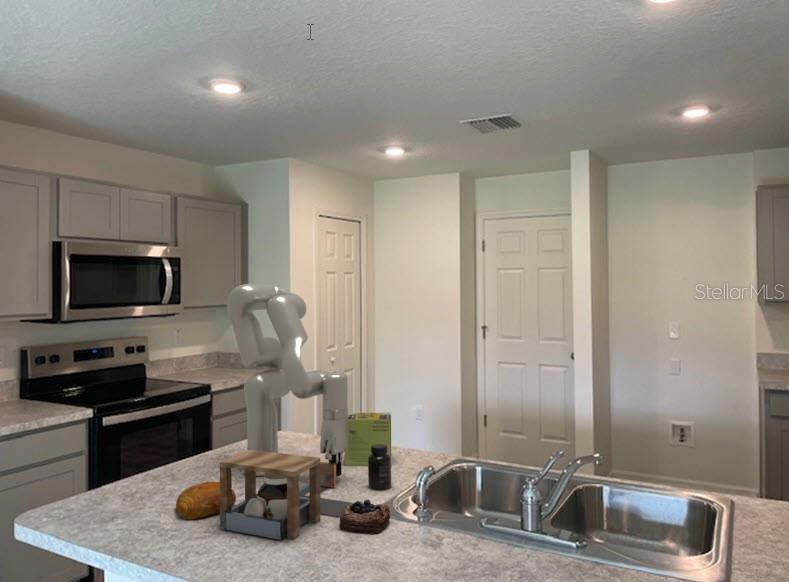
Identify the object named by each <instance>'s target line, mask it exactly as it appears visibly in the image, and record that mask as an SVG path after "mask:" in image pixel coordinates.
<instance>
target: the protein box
mask: <svg viewBox="0 0 789 582" xmlns="http://www.w3.org/2000/svg"><path fill="white" fill-rule="evenodd" d="M347 423H348V447H347V448H346V449H345V451H344V453H343V454H344V456H343V457H344V462H343V464H344V466H345V467H346V466H350V467H352V466H353V467H354V466H356V467H360V466H361V467H362V466H363V467H365V466H366V467H368V457H369V456H370V455H371V454H372V453H371V446H372V445H375V444H384V445H387V450H388V452H387V454H388V455H390V457H391V458H392V413H391V412H348V419H347Z"/></svg>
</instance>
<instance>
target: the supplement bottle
mask: <svg viewBox="0 0 789 582" xmlns="http://www.w3.org/2000/svg"><path fill="white" fill-rule="evenodd" d="M387 452H388V450H387V445H384V444H375V445H372V446H371V453H372V454H371V455H370V456H369V457H368V466H367V477H368V478H367V481H368V485H367V486H368V488H370V489H371V490H373V491H374V490H375V491H383V490H388V489H390V488H391V487H392V456H391V457H390V455H388V454H387Z"/></svg>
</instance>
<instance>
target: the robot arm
mask: <svg viewBox="0 0 789 582" xmlns="http://www.w3.org/2000/svg"><path fill="white" fill-rule="evenodd" d="M226 310H227V316H228V317H229V320H230V324H231V327H232V329H233V333H234V336H235V337H234V338H235V340H236V344H237V348H238V353H239V356H240V357H239V358H240V360H241V363H242V365H243V366H244V368H247V369H250V370H253V369H260V368H261V369H262V368H263V369H264V370H262V371H258V372H255V373H252V374H251V375H249V376H248V377H246V380H245V382H244V385H243V393H244V394H243V395H244V400H245V403H246V423H247V424H246V427H247V428H246V430H247V431H246V433H247V437H246V439H247V441H246V442H247V443H246V445H247V447H246V449H247V450H257V451H265V452H273V453H279V449H278V448H279V447H278V444H279V443H278V441H279V440H278V439H279V437H278V434H279V433H278V428H279V426H278V423H279V421H278V417H279V416H278V410H277V407H276V404H275V402H274V400H275V399H279V398H282V397H284V396H287V395H288V394H289V393H290V392H291V393H292V395H294V396H295V397H296V398H299V399H301V400H304V399H309V398H312V397H316V396H319V395H322V424H321V428H320V429H321V430H320V443H319V445H320V446H319V451H320V454H322V455H323V454H325V455H324V456H325V458H324V459H325V460H326V461H328V463H335V464H336V477H340V476H342V461H343V454H344V451H345V449H346V448H347V447H348V423H347V419H348V413H349V412H348V411H349V410H348V409H349V408H348V407H349V405H348V403H349V401H348V400H349V397H348V396H349V395H348V394H349V393H348V392H349V391H348V390H349V389H348V388H349V387H348V385H349V383H348V382H349V379H348V375H347V374H345V373H344V372H330V371H325V370H323V369H321V370H320V369H318V370H317V369H316V370H312V371H307V372H306V370H305V368H304V366H303V363H302V359H301V351H302V348H303V346H304V344H306V342H307V341H308V337H309V336H308V334H307V332H306V329H305V327H304V325H303V323H302V320H301V319H303V318H304V317H305V316H306V312H307V305H306V302H305V300H304V299H303V298H302V297H301V296H300V295H298V294H296V293H293V292H290V291H288V290H286V289H283V288H281V287H279V286H276V285H274V284H270V283H246V284H245V283H244V284H241V285H237V286H236V287H234V289H232V290H231V292H230V293H229V295H228V297H227V301H226ZM262 310H266V313H267V317H268V318H269V321H270V322H271V325H272V328H273V329H274V331H275V333H276V336H277V338H278V339H277V338H274V337H268V336H267V337H264V335H263V331H262V327H261V326H262V325H261V324H260V322H259V320H258V318H257V317H256V315H254V313H253V311H262ZM247 450H246V451H247ZM241 471H242V473H243V474H244V475H245V470H241ZM265 474H267V473H261V472H256V477H264V475H265Z"/></svg>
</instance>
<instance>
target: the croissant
mask: <svg viewBox="0 0 789 582" xmlns="http://www.w3.org/2000/svg"><path fill="white" fill-rule="evenodd" d="M236 499H237V497H236V493H235V491H234V489H233V488H232V506H234V505H235V503H236ZM175 511H176V512H177V513H179V515H180V516H181V517H183V518H185V519H186V520H197V519H200V518H205V517H208V516H212V515H215V514H218V513H220V481H213V480H212V481H204V482H200V483H198V484H194V485H192V486H189V487H187V488H185V489H184V490H182V492H181V493H180V494H179V495H178V497H177V499H176V502H175Z"/></svg>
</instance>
